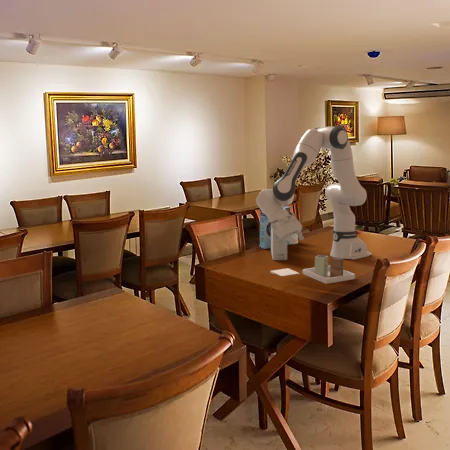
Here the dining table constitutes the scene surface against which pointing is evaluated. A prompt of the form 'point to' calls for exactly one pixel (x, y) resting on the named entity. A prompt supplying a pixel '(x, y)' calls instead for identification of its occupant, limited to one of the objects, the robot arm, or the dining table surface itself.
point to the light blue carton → (267, 230)
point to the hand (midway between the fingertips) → (298, 241)
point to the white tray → (328, 276)
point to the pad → (284, 272)
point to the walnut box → (336, 266)
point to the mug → (294, 238)
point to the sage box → (321, 265)
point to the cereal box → (278, 246)
